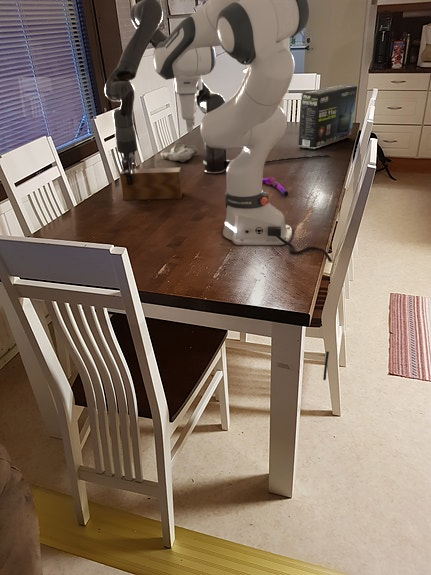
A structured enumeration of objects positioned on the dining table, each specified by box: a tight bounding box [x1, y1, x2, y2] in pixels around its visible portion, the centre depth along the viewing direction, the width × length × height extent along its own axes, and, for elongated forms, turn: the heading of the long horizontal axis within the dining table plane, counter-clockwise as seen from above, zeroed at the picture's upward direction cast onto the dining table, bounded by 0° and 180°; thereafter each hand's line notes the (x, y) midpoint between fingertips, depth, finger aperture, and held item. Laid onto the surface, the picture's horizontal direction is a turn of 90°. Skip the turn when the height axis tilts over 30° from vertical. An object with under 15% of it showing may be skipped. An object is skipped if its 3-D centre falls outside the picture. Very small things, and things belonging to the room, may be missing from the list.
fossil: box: [160, 142, 199, 163], centre depth 229 cm, size 18×11×15 cm
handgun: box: [262, 176, 289, 197], centre depth 185 cm, size 21×8×2 cm, turn 11°
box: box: [119, 167, 183, 201], centre depth 180 cm, size 23×6×11 cm, turn 89°
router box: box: [297, 84, 358, 151], centre depth 238 cm, size 36×11×27 cm, turn 134°
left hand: (131, 182), depth 180 cm, fingers closed on box, 6 cm apart
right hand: (191, 128), depth 156 cm, fingers open, 8 cm apart
